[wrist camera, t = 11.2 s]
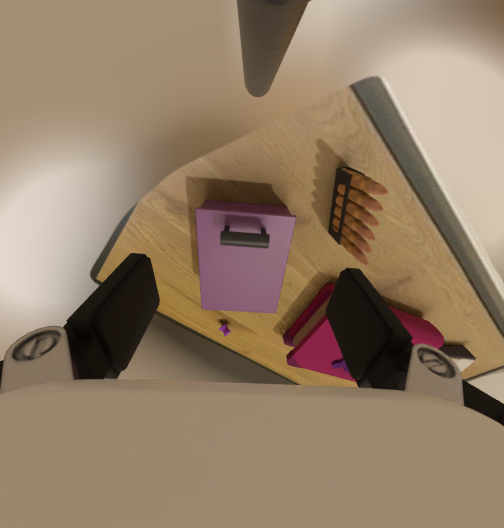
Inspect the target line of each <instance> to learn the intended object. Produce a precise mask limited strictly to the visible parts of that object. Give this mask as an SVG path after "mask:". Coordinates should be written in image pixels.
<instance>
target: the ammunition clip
mask: <svg viewBox="0 0 504 528" xmlns="http://www.w3.org/2000/svg"><path fill="white" fill-rule="evenodd" d="M364 191H366V192H369V193H372V194H375V195H386V194H388V191H387V189H386V188H385V187H384V186H383V185H381V184H379V183H377V182H375V181H374V180H373V179H371V178H370V177H367V176H365V174H363V173H361V172H359V171H357V170H354V169H352V168H350V167H343V168H337V171H336V178H335V186H334V193H333V200H332V208H331V215H330V223H329V230H328V233H329V234H330V235H331V236H332V237H333V238H334V240H335V241H336V242H337V243H338V244H339V245H341V244H342V245H343V247H344V248H345V249H346V250H347V251H348V252H349V253H351V254H352V255H353V256H354V257H355V258H356V259H357V260H358V261H359V262H361V263H363V264H365V265H368V260H367V258H366V256H365V254H364V253H363V252H362V251H361V250H363V251H365V252H367V253H371V252H372V251H371V248H370V246H369V244H368V243H367V242H366V241H365V240H364V238H366V239H369V240H375V236H374V234H373V233H372V231H371V230H370V229H369V228H368V227H367V226H366V225H365V224H364V223H366V224H368V225H370V226H374V227H378V226H379V223H378V221H377V219H376V218H375V217H374V216H373V215H372V214H370V213H369V212H368V211H367V210H366V209H365V208H364V207H366V208H368V209H370V210H372V211H377V212H380V211H383V207H382V205H381V204H380V203H379V202H378V201H377V200H375V199H373V198H372V197H370V195H369V194H368V193H366V192H364ZM363 206H364V207H363ZM363 222H364V223H363ZM362 236H363V237H364V238H363V237H362Z"/></svg>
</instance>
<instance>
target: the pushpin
mask: <svg viewBox="0 0 504 528" xmlns="http://www.w3.org/2000/svg"><path fill="white" fill-rule="evenodd" d="M220 323H221V322H220ZM221 325H222V324H221ZM220 331H223V333H224V336H226V335H228V334H229V333H230V332H231V330H229V329H228V327H227V324H224V325H222V327H221V328H220Z"/></svg>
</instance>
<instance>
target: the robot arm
mask: <svg viewBox="0 0 504 528" xmlns="http://www.w3.org/2000/svg"><path fill="white" fill-rule="evenodd" d="M159 302H160V298H159V294H158V290H157V285H156V281H155V277H154V272H153V268H152V264H151V260H150V258H149V257H147V256H146V255H145V254H138V253H131V254H130V255H129V256H128V257H127V258H126V259H125V260H124V261H123V262H122V263H121V264H120V265H119V266H118V267H117V268H116V269H115V270H114V271H113V272H112V273H111V274H110V275H109V277H108V278H107V279H106V280H105V281H104V282H103V283H102V284H101V285H100V286H99V287H98V288H97V289H96V290H95V291H94V292H93V293H92V294H91V295H90V296H89V298H88V299H87V300H86V301H85V302H84V303H83V304H82V305H81V306H80V307H79V308H78V309H77V310H76V311H75V312H74V313H73V314H72V315H71V316H70V317H69V318H68V320H67V323H66V324H65V325H64V327H63V328H62V327H60V326H48V327H43V328H40V329H36V330H34V331H32V332H29V333H27V334H26V335H24V336H23V337H21V338H19V339H18V340H17V341H16V342H14V343H13V344H12V345H11V346H10V347H9V349H8V350H7V351H6V354H5V356H4V360H2V361H0V528H504V404H503V403H501V402H500V401H498V400H496V399H495V398H493V397H491V396H489V395H488V394H486V393H484V392H483V391H481V390H479V389H478V388H476V387H474V386H473V385H471V384H469V383H467V382H466V381H464V380H462V375H461V372H460V369H459V368H458V366H457V365H456V363H455V362H454V361H453V360H452V359H451V358H450V357H448V356H447V355H446V354H445V353H443V352H442V351H440V350H438V349H437V348H435V347H432V346H430V345H426V344H416V345H413V343H412V342H411V340H412V339H413V337H412V336H411V334H410V333H409V332H408V331H407V329H406V328H405V327H404V325H403V324H402V323H401V322H400V320H399V319H398V318H397V316H396V315H395V314H394V312H393V311H392V310H391V309H390V307H389V306H388V305H387V303H386V302H385V301H384V300H383V298H382V297H381V296H380V294H379V293H378V292H377V291H376V289H375V288H374V287H373V285H372V284H371V283H370V282H369V280H368V279H367V278H366V276H365V275H364V274H363V273H362V271H361V270H360V269H356V268H346V269H345V270H344V271H342V272H341V273H340V276H339V278H338V280H337V283H336V285H335V288H334V290H333V293H332V295H331V297H330V300H329V302H328V305H327V307H326V316H327V318H328V321H329V323H330V326H331V328H332V331H333V333H334V336H335V338H336V341H337V343H338V346H339V348H340V351H341V353H342V355H343V358H344V360H345V363H346V365H347V368H348V370H349V373H350V375H351V377H352V378H353V379H355V380H356V383H357V385H358V387H359V388H354V387H330V386H305V385H280V384H252V383H224V382H223V383H222V382H193V381H161V380H160V381H158V380H112V379H117V378H118V376H119V374H120V372H121V371H123V370H125V369H126V368H127V366H128V364H129V362H130V360H131V358H132V356H133V354H134V353H135V351H136V349H137V347H138V345H139V343H140V341H141V339H142V337H143V335H144V333H145V331H146V329H147V327H148V325H149V323H150V321H151V320H152V318H153V316H154V314H155V312H156V310H157V308H158V306H159ZM104 378H107V379H104ZM110 379H111V380H110ZM371 388H372V389H371Z"/></svg>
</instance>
